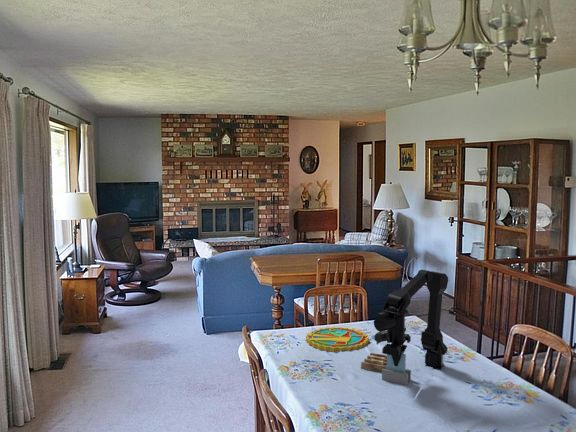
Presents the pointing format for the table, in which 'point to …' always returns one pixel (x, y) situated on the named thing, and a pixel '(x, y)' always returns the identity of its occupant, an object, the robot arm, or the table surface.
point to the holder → (396, 376)
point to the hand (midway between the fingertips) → (396, 365)
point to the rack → (374, 367)
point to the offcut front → (377, 358)
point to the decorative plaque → (336, 339)
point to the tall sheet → (401, 363)
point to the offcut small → (377, 362)
